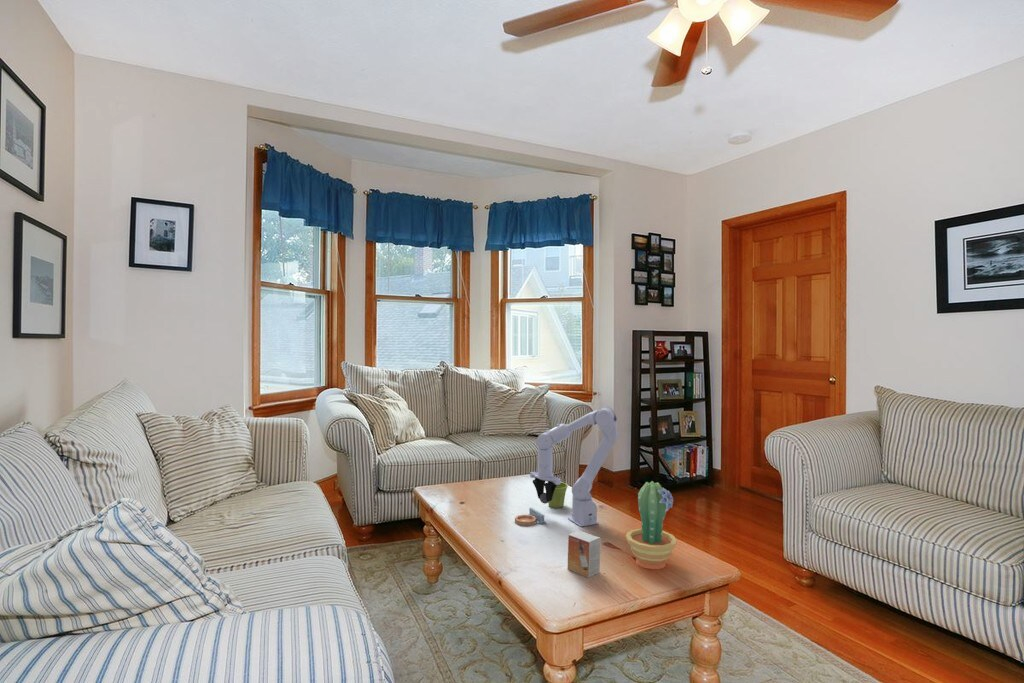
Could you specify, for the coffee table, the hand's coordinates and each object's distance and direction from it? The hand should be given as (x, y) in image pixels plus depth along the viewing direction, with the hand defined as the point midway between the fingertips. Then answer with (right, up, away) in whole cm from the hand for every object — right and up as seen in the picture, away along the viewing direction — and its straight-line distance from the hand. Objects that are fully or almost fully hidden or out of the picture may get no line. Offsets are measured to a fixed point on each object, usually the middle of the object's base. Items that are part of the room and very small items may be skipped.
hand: (544, 499), depth 205 cm
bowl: (-8, -7, -6) cm, 12 cm away
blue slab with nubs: (-3, -7, -4) cm, 8 cm away
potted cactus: (+30, -8, -41) cm, 51 cm away
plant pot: (+5, -7, +13) cm, 15 cm away
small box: (+9, -8, -47) cm, 48 cm away
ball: (0, -2, 0) cm, 2 cm away
